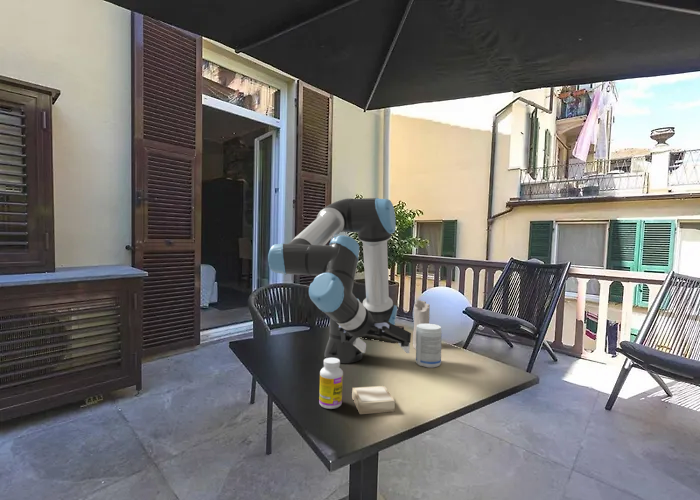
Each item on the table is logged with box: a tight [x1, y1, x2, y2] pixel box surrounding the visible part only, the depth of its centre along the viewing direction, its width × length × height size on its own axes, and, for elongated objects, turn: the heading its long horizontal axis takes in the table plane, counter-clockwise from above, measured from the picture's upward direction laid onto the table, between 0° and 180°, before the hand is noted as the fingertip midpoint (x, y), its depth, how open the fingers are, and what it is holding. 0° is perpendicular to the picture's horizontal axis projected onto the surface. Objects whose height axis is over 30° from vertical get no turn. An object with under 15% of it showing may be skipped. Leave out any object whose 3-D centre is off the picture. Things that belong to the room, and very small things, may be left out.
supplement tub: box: [415, 323, 443, 369], centre depth 135 cm, size 10×10×15 cm
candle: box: [412, 299, 430, 350], centre depth 155 cm, size 7×14×20 cm, turn 173°
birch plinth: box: [351, 385, 396, 415], centre depth 101 cm, size 10×10×3 cm
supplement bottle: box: [318, 358, 344, 410], centre depth 101 cm, size 7×7×13 cm
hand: (385, 348), depth 100 cm, fingers open, 13 cm apart
